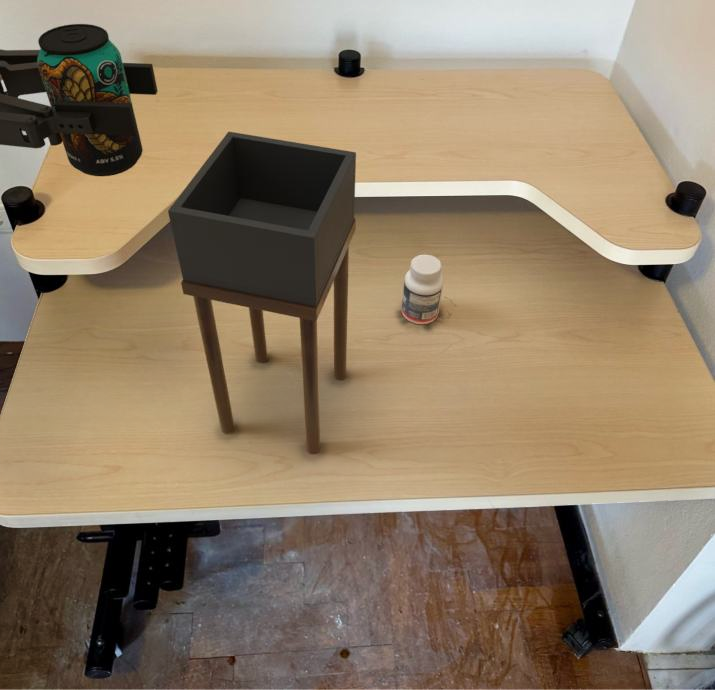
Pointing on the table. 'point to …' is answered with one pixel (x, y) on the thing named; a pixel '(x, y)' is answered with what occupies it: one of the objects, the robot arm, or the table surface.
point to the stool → (256, 308)
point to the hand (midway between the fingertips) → (143, 98)
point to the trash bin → (266, 217)
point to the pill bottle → (422, 290)
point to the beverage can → (88, 93)
